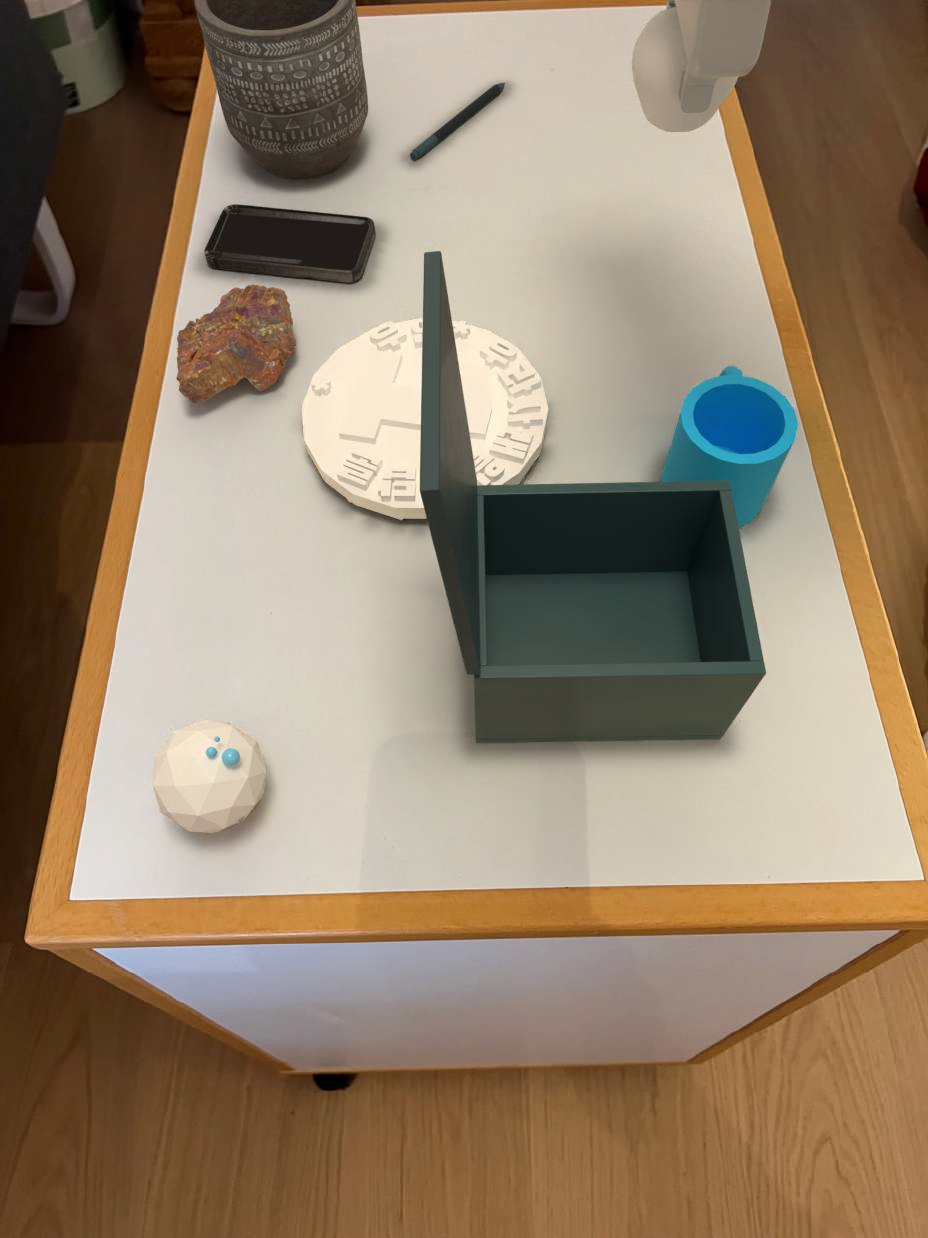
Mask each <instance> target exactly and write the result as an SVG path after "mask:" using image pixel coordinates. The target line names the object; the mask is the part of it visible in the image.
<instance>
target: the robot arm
mask: <svg viewBox="0 0 928 1238" xmlns="http://www.w3.org/2000/svg"><path fill="white" fill-rule="evenodd" d="M771 4H772V0H667V3H666V7H665V10H666V9H669V8H674V7H676V10H677V15H678V19H679V24H680V29H681V34H682V39H683V44H684V49H685V53H686V58H687V67H686V71H682V77H681V83H680V89H679V99H680V106H681V109H682V111H683V112H685V113H702V112H705V111H706V110H707V109H708V108H709V106H710V102H711V97H712V93H713V88H714V85H715V83H716V81H717V80H718V78H730V77H738V78H739V77H740V78H741V77H746V76H747V75H749V74H750V73H751V71H752V70H753V69H754V67H755V65H756V64H757V62H758V60H759V57H760V55H761V50H762V45H763V42H764V37H765V32H766V28H767V23H768V19H769V13H770V9H771Z"/></svg>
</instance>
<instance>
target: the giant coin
mask: <svg viewBox="0 0 928 1238" xmlns="http://www.w3.org/2000/svg"><path fill="white" fill-rule="evenodd" d="M452 325H453V331H454V337H455V344H456V350H457V356H458V363H459V369H460V376H461V382H462V388H463V395H464V401H465V407H466V414H467V420H468V427H469V433H470V439H471V446H472V452H473V458H474V465H475V471H476V477H477V485H520V483H521V481H522V480H523V479H524V478H525V476H526V475H527V473H528V472H529V471H530V469H531V467H533V465H534V463H535V462H536V461H537V460H538V458H539V456H540V455H541V453H542V450H543V449H542V448H543V443H544V439H545V433H546V429H547V425H548V419H549V418H548V417H549V405H548V401H547V397H546V393H545V388H544V385H543V381H542V376H541V375H540V374H539V373H538V372H537V370H536V369H535V368H534V366H533V365H532V363H530V361H529V359H528V358H527V357H526V356H525V355H524V354H523V352H522V351H521V350H520V349H519V348H518V347H517V346H516V345H515V344H513V343H511V342H509V341H507V340H506V339H503V338H502V337H500V336H499V335H497V334H496V333H494V332H492V331H491V330H488V329H485V328H481V327H478V326H474V325H472V324H470V323H469V324H467V320H462V319H461V320H459V321H455V320H453V319H452ZM422 336H423V317H417V318H414V319H407V320H403V321H399V322H395V321H392V320H391V321H386V322H384V323H382V324H380V325H377V326H376V327H374V328H372V329H369V330H368V331H365V332H364V333H362V334H361V335H359V336H358V337H356V338H353V339H351V340H350V341H349V342H347V343H345V344H343V345H341V346H340V347H338V348H337V349H336V350H335V351H334V352H333V353H332V354H331V356H329V358H328V359H327V360H326V361H325V362H324V363H323V364H322V365H321V366H320V367H319V368H318V369H317V371H316V372H314V374H313V376H312V377H311V381H310V383H309V385H308V388H307V391H306V393H305V396H304V399H303V401H302V404H301V417H302V430H303V431H302V432H303V440H304V446H305V448H306V449H305V450H306V452H307V453H308V455H309V457H310V459H311V460H312V462H313V464H314V466H315V467H316V469H317V471H318V472H319V474H320V476H321V478H322V480H323V481H324V483H326V484H327V485H328V486H330V487H331V488H332V489H333V490H335V491H336V492H337V493H339V494H340V495H341V496H343V497H344V498H346V500H347V501H348V502H349V504H351V503H352V504H353V505H355V506H357V507H360V508H363V509H367V510H369V511H372V512H376V513H378V514H382V515H385V516H388V517H391V518H394V519H397V520H398V521H401V522H403V520H404V519H409V520H410V519H414V520H415V519H416V520H418V519H419V520H422V519H423V520H427V518H426V514H425V510H424V506H423V502H422V498H421V494H420V442H421V389H422Z"/></svg>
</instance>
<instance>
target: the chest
mask: <svg viewBox="0 0 928 1238" xmlns="http://www.w3.org/2000/svg"><path fill="white" fill-rule="evenodd" d="M477 508H478V559H479V610H480V661H481V674H475V675H473V694H474V696H473V697H474V733H475V744H502V743H503V744H504V743H506V744H507V743H559V742H560V743H563V742H564V743H565V742H566V743H568V742H573V743H574V742H627V741H628V742H630V741H632V742H633V741H634V742H635V741H637V742H638V741H689V740H690V741H691V740H692V741H693V740H694V741H697V740H721V739H723V737H724V735H726V732H728V730H729V728H731V727H730V726H732V724H733V722H734V721H735V720H736V718H737V717H738V715H739V714H740V712H741V711H742V709H743V708H744V706H745V705H746V704H747V702H748V701H749V699H750V698H751V697H752V695H753V694H754V692H755V690H756V689H757V688H758V686H759V684H760V683H761V682H762V680H763V679H764V677H765V676H766V674H767V670H766V664H765V661H764V654H763V649H762V644H761V639H760V633H759V628H758V622H757V618H756V612H755V607H754V601H753V597H752V591H751V586H750V580H749V575H748V570H747V565H746V560H745V554H744V548H743V544H742V537H741V534H740V533H741V532H740V527H738V522H737V516H736V511H735V506H734V501H733V495H732V491H731V485H730V481H729V480H721V481H671V482H660V481H631V482H630V481H629V482H627V481H624V482H622V481H621V482H578V483H577V482H576V483H571V482H570V483H531V484H530V483H529V484H527V483H526V484H518V485H477Z"/></svg>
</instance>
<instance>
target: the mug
mask: <svg viewBox="0 0 928 1238" xmlns="http://www.w3.org/2000/svg"><path fill="white" fill-rule="evenodd" d="M798 427H799V422H798V418H797V413H796V410H795V408H794V407H793V405H792V404H791V402H790V401H789V399H788V398H787V396H785V395H784V394H783V393H782V392H780V391H779V390H778V389H777V388H776V387H775V386H774V385H771V384H769V383H767V382H765V381H763V380H760V379H758V378H755V377H750V376H745V375H743V371H742V370H741V369H740V368H738V366H735V365H727V366H725V367H724V368H723V369H722V370H721V371H720V373H719V375H718V376H714V377H712V378H707V379H705V380H703V381H702V382H700V383H698V384H697V385H695V386H693V387H692V388H691V390H690V391H689V392H688V394H686V395H685V397H684V399H683V401H682V405H681V407H680V412H679V415H678V418H677V422H676V426H675V429H674V432H673V435H672V439H671V443H670V446H669V449H668V453H667V455H666V459H665V463H664V466H663V469H662V474H661V478H660V481H659V482H671V481H721V480H729V481H730V485H731V491H732V495H733V501H734V506H735V511H736V516H737V522H738V527H739V528H740V527H744V526H745V525H747V524H748V523H749V522H751V521H752V520H754V519H755V518H756V517H757V515H758V514H759V513H760V512H761V509H762V508H763V507H764V505H765V502H766V500H767V499H768V496H769V494H770V492H771V490H772V488H773V486H774V483H775V481H776V479H777V478H778V475H779V473H780V471H781V469H782V467H783V465H784V464H785V461H786V459H787V458H788V455H789V453H790V451H791V449H792V446H793V445H794V442H795V440H796V439H797V433H798Z"/></svg>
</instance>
